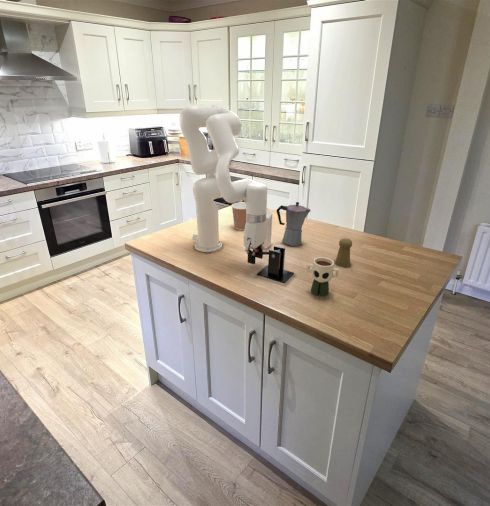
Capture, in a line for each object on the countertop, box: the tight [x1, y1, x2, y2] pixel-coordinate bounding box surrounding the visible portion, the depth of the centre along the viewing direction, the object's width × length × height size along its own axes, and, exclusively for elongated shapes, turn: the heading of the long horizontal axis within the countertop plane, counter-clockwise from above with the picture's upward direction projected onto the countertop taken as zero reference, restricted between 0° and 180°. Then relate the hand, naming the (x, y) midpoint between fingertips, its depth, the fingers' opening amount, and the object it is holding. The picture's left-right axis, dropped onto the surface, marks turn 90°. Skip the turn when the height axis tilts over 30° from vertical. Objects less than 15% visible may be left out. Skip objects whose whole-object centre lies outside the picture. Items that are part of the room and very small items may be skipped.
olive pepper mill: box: [334, 237, 353, 268], centre depth 144 cm, size 6×6×11 cm
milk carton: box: [263, 208, 273, 249], centre depth 157 cm, size 7×7×19 cm
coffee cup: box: [231, 201, 247, 231], centre depth 179 cm, size 10×10×12 cm
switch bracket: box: [256, 245, 295, 284], centre depth 133 cm, size 12×9×12 cm
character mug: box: [306, 256, 340, 298], centre depth 122 cm, size 11×7×13 cm, turn 69°
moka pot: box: [276, 201, 312, 247], centre depth 160 cm, size 10×15×20 cm, turn 89°
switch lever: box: [254, 248, 282, 256], centre depth 134 cm, size 12×5×2 cm, turn 58°
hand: (255, 260), depth 138 cm, fingers closed on switch lever, 5 cm apart
